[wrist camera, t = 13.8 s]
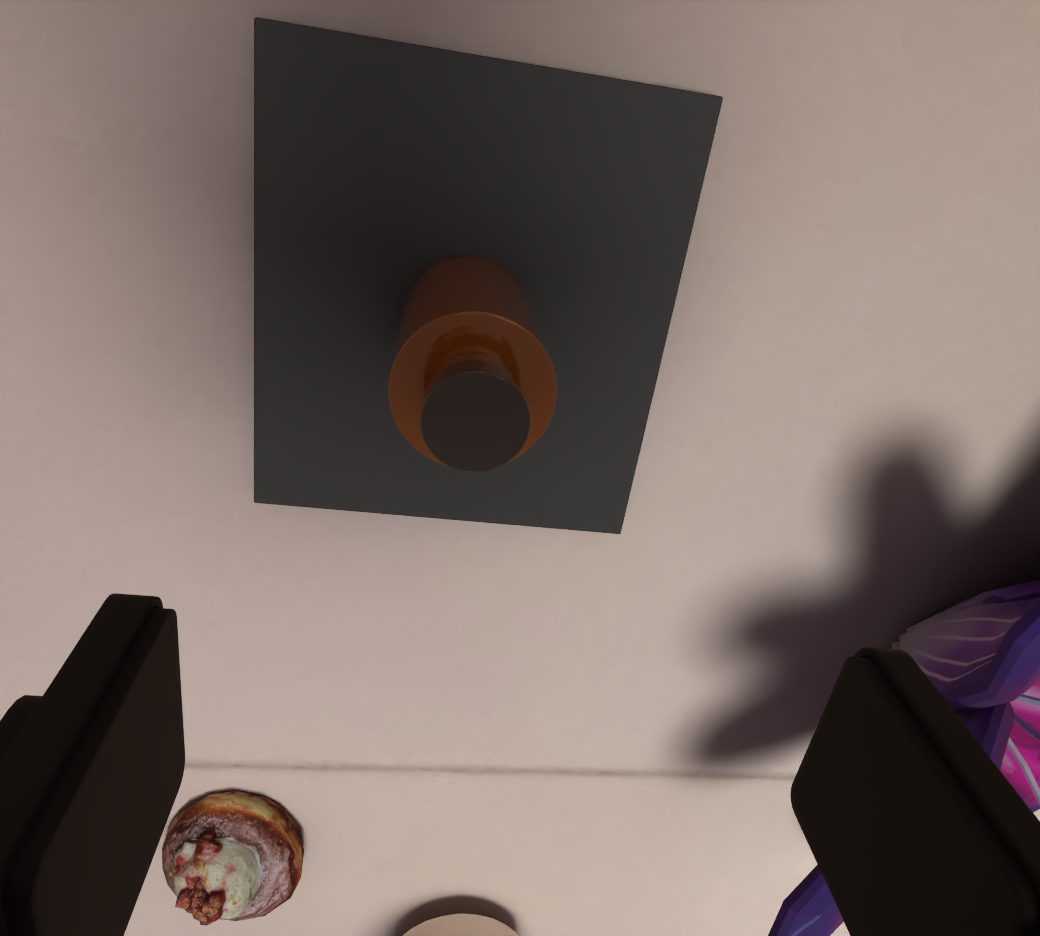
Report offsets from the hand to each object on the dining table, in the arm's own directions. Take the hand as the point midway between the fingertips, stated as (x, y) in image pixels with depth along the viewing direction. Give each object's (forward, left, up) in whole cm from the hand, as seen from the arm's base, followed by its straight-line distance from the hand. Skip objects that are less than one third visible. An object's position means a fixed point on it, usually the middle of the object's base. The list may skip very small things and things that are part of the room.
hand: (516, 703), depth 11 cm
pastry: (+31, -9, -23) cm, 40 cm away
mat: (0, 0, -22) cm, 22 cm away
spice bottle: (+1, 0, -21) cm, 21 cm away
